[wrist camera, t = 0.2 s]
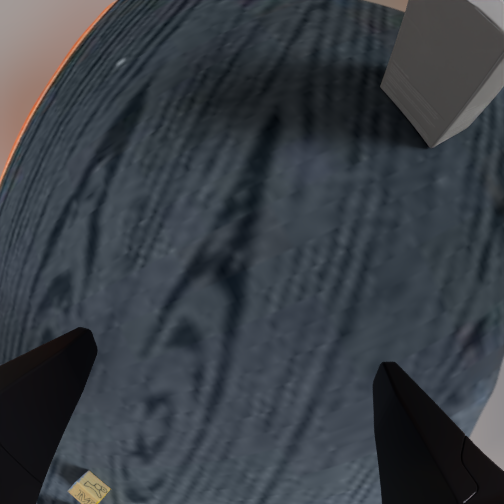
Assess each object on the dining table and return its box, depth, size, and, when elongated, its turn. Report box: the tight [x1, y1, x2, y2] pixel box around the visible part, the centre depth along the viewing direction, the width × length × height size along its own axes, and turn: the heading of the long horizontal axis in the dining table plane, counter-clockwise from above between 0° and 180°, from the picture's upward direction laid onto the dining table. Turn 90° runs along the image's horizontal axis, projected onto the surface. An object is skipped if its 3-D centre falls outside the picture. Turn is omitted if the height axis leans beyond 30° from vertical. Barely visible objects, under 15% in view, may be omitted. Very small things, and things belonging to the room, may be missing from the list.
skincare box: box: [380, 0, 504, 148], centre depth 16 cm, size 8×7×16 cm
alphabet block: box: [68, 470, 110, 504], centre depth 20 cm, size 3×3×3 cm
